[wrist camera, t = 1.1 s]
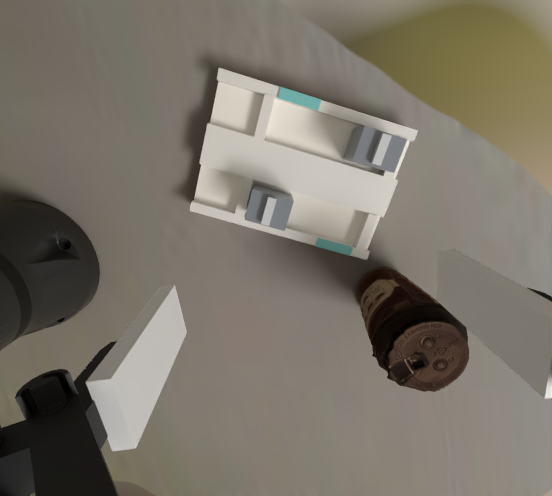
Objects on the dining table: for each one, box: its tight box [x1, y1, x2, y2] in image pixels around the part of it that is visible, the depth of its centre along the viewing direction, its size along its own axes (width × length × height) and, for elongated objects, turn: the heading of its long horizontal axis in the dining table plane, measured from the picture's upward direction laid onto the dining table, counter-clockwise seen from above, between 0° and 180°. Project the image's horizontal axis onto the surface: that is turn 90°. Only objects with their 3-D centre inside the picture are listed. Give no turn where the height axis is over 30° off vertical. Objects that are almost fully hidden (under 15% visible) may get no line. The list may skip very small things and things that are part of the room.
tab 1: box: [245, 184, 294, 231], centre depth 31 cm, size 4×3×5 cm
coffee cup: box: [357, 268, 469, 392], centre depth 32 cm, size 9×8×13 cm
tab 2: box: [343, 126, 407, 173], centre depth 30 cm, size 4×3×5 cm
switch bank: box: [190, 68, 418, 260], centre depth 33 cm, size 20×14×3 cm
